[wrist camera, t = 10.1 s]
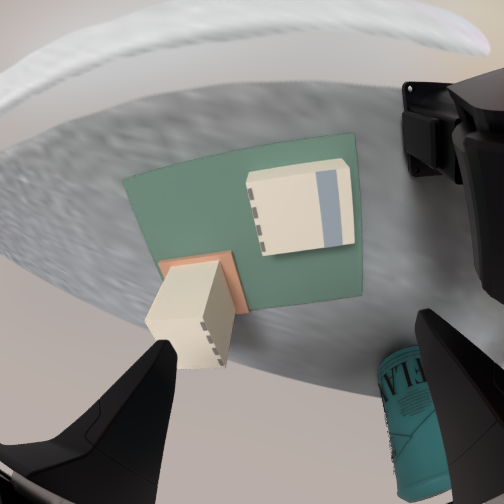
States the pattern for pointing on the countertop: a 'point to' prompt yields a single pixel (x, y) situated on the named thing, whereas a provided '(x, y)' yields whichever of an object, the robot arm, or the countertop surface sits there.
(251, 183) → the spiral notebook
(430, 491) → the beverage bottle
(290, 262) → the mat
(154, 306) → the stub
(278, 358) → the countertop surface
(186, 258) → the coaster
